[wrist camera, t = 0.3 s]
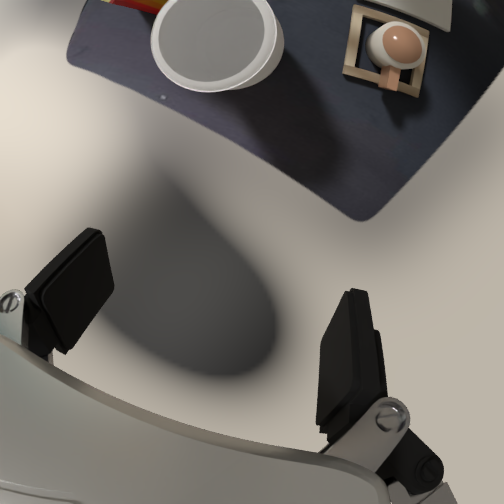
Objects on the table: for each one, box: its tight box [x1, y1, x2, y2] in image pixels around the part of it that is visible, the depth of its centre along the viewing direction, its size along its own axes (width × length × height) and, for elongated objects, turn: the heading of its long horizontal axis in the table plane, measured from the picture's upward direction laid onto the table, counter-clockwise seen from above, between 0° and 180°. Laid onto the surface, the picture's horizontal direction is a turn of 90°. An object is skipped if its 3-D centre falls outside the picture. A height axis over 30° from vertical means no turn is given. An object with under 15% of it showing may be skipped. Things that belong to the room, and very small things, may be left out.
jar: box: [151, 0, 284, 92], centre depth 23 cm, size 11×10×15 cm
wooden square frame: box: [342, 4, 429, 98], centre depth 25 cm, size 10×10×1 cm
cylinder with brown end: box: [365, 21, 426, 91], centre depth 23 cm, size 8×6×7 cm
